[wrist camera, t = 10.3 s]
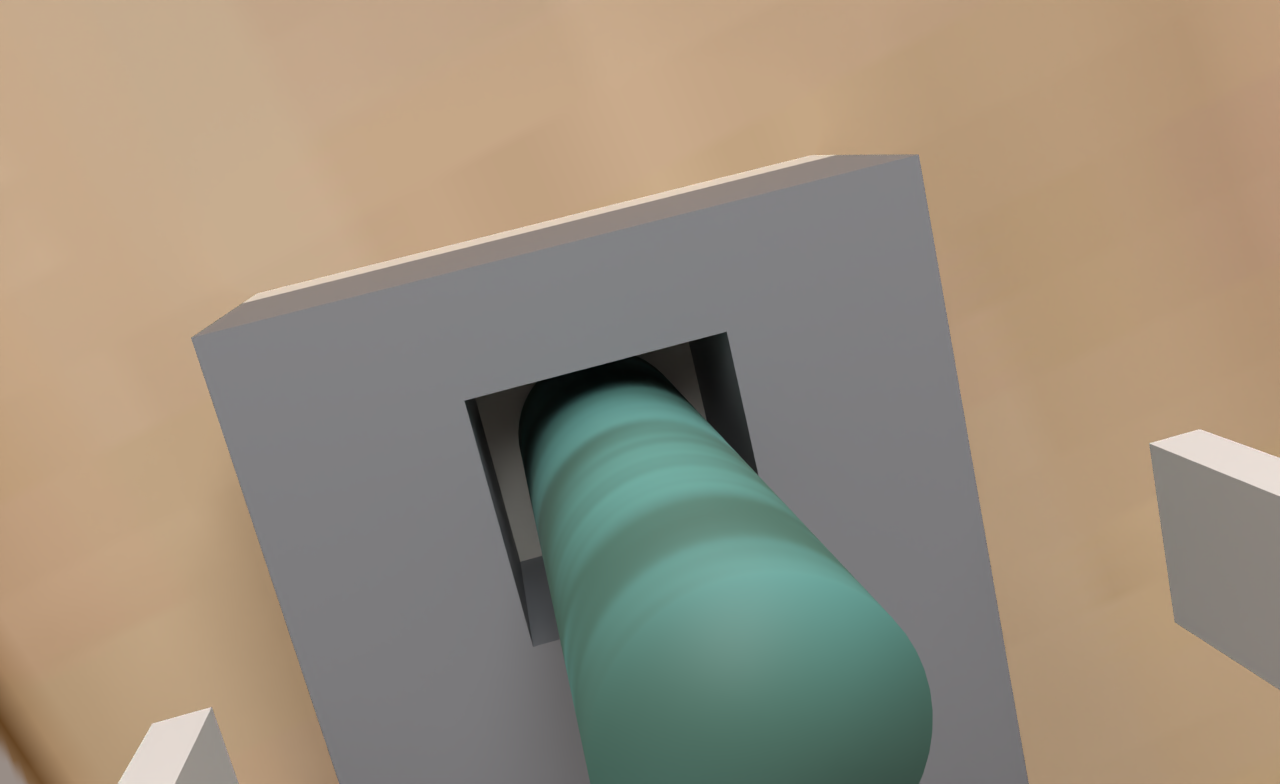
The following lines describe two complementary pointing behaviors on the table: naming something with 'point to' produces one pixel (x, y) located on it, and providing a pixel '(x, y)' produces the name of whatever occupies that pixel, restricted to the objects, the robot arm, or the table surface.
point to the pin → (705, 603)
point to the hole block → (494, 473)
